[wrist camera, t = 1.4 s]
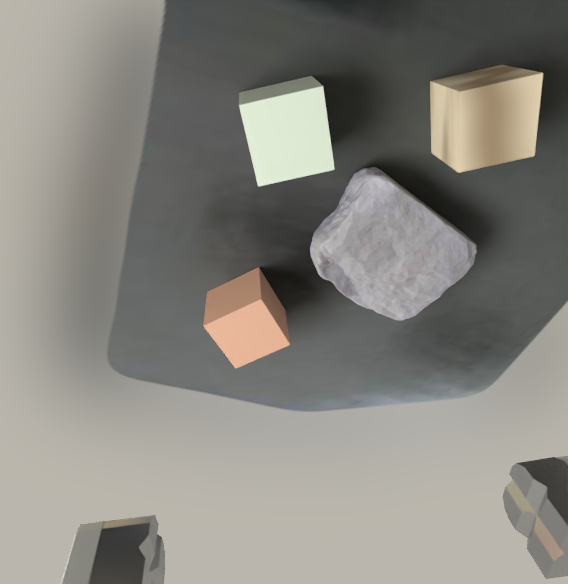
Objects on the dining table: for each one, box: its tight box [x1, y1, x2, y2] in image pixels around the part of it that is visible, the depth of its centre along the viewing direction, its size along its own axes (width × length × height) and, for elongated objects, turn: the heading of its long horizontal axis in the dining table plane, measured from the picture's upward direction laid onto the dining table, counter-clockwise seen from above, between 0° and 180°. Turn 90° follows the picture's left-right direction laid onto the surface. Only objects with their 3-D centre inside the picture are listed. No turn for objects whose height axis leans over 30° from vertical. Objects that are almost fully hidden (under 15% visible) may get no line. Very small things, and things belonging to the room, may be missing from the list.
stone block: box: [310, 167, 477, 320], centre depth 36 cm, size 12×5×10 cm
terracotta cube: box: [203, 267, 290, 368], centre depth 37 cm, size 5×5×5 cm
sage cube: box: [239, 76, 335, 186], centre depth 29 cm, size 5×5×5 cm
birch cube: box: [430, 65, 543, 173], centre depth 30 cm, size 5×5×5 cm
